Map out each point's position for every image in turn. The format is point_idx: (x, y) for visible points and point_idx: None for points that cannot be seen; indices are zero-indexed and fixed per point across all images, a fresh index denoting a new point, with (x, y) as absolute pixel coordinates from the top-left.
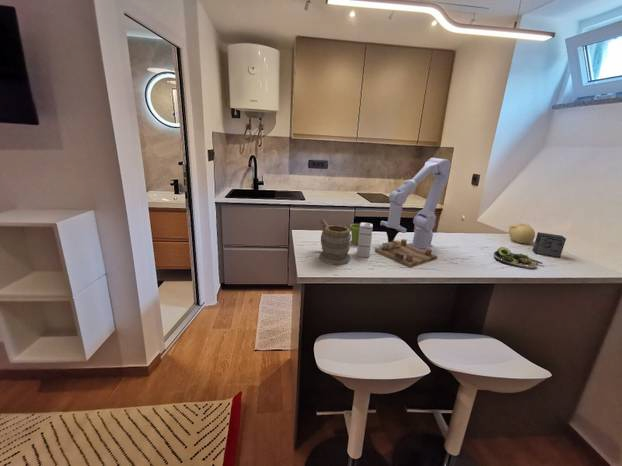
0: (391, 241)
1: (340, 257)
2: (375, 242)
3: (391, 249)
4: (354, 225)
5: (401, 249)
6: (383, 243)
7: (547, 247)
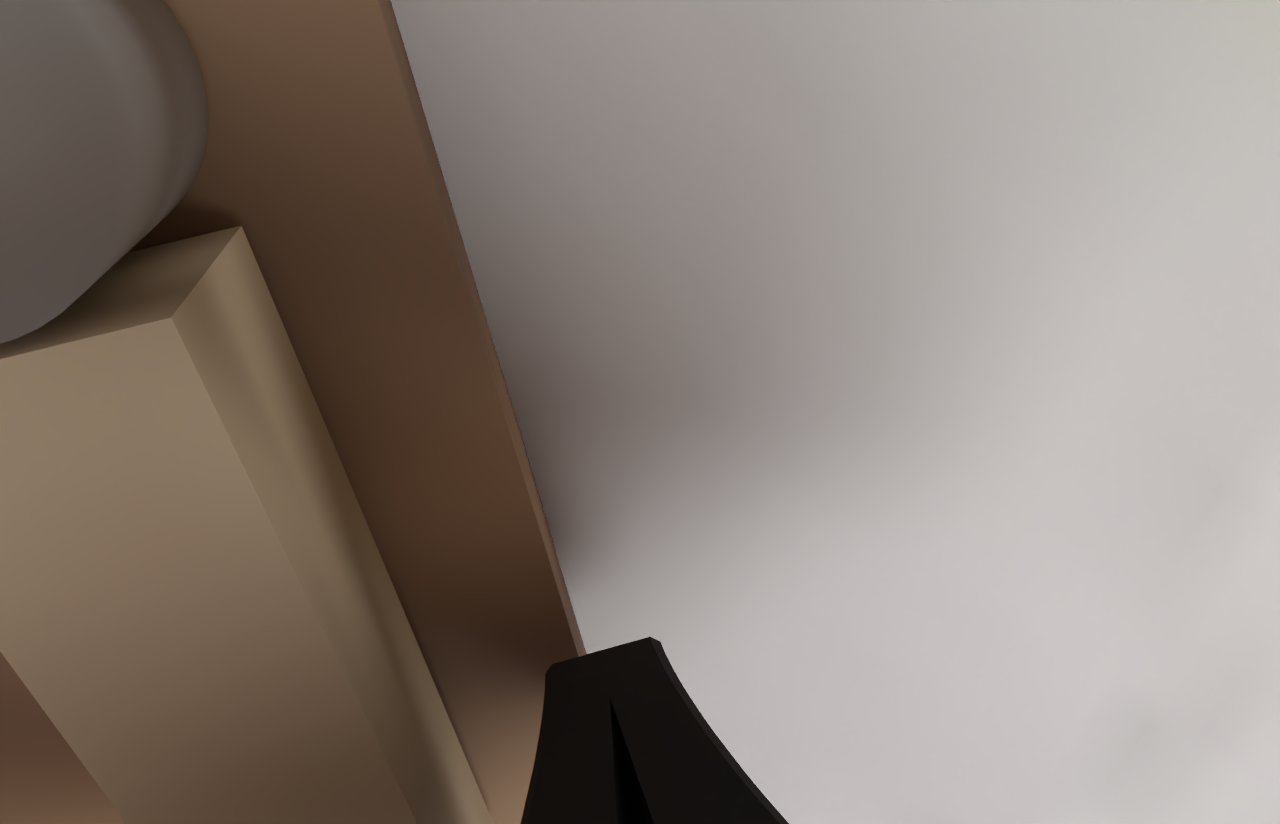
0: (373, 739)
1: None
2: (1120, 364)
3: None
4: None
5: (41, 785)
6: (16, 84)
7: None
